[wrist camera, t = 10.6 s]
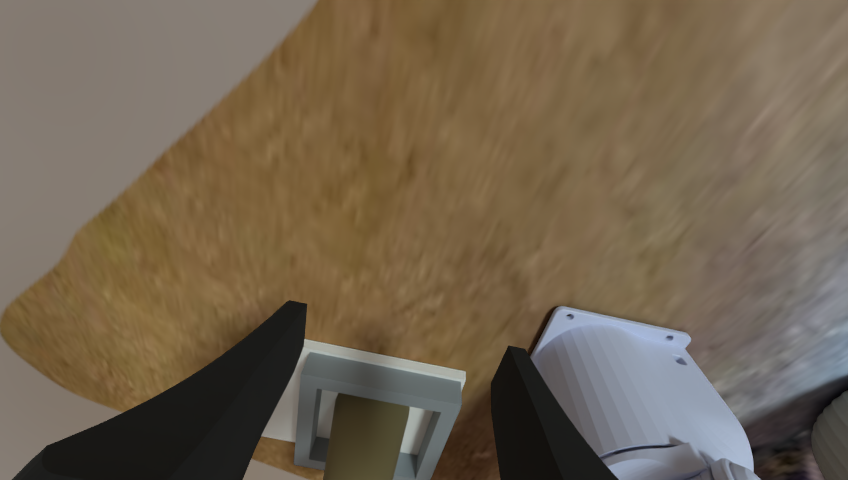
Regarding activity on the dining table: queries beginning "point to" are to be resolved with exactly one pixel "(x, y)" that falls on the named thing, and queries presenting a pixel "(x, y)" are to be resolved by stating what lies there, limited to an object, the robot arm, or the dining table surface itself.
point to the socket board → (375, 379)
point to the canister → (832, 439)
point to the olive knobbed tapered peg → (364, 439)
